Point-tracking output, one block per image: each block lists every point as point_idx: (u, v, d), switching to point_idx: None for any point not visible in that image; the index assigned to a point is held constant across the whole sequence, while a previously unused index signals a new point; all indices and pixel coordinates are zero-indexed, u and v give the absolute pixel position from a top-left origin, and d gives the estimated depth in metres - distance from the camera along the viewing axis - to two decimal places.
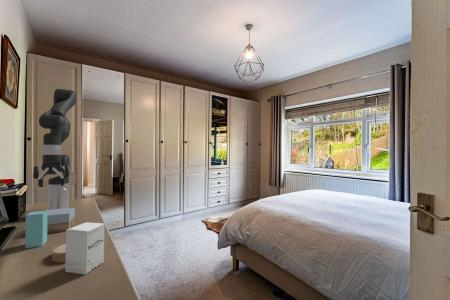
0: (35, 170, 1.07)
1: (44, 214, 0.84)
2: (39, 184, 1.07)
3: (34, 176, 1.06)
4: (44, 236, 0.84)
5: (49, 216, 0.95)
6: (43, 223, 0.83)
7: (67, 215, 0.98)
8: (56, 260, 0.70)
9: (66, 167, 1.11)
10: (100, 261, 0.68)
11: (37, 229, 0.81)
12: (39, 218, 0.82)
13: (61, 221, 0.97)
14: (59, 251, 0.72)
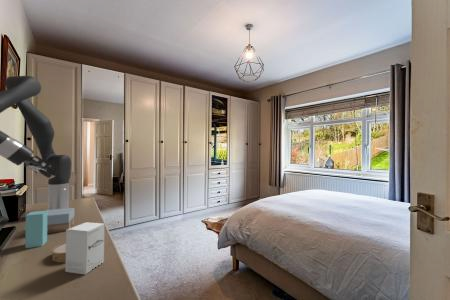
0: (28, 167, 0.94)
1: (44, 214, 0.84)
2: (46, 175, 0.97)
3: (35, 171, 0.95)
4: (44, 236, 0.84)
5: (48, 216, 0.95)
6: (43, 223, 0.83)
7: (67, 215, 0.97)
8: (56, 260, 0.70)
9: (33, 162, 0.85)
10: (100, 261, 0.68)
11: (37, 229, 0.81)
12: (39, 218, 0.82)
13: (61, 221, 0.97)
14: (59, 251, 0.72)
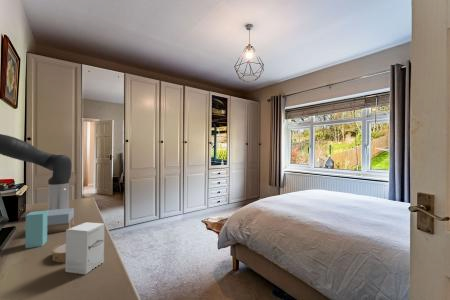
0: None
1: (44, 214, 0.84)
2: None
3: None
4: (44, 236, 0.84)
5: (48, 217, 0.95)
6: (43, 223, 0.83)
7: (66, 215, 0.97)
8: (56, 260, 0.71)
9: None
10: (100, 261, 0.68)
11: (37, 229, 0.81)
12: (39, 218, 0.82)
13: (60, 221, 0.96)
14: (59, 251, 0.72)
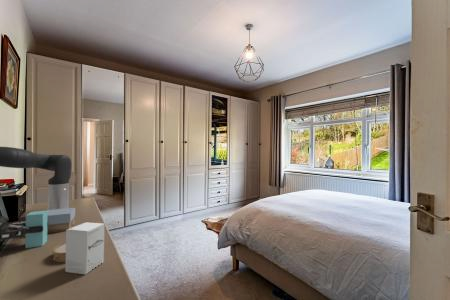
0: None
1: (44, 214, 0.84)
2: None
3: None
4: (44, 236, 0.84)
5: (50, 216, 0.95)
6: (43, 223, 0.83)
7: (68, 215, 0.98)
8: (57, 260, 0.71)
9: None
10: (100, 261, 0.68)
11: None
12: (39, 218, 0.82)
13: (62, 221, 0.97)
14: (60, 251, 0.73)
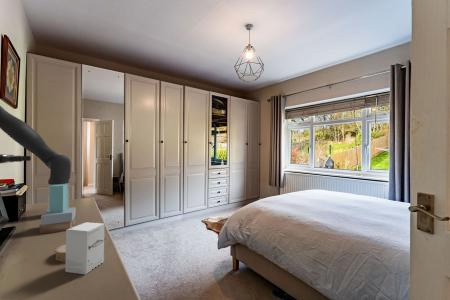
0: None
1: (64, 186, 1.02)
2: None
3: None
4: (64, 204, 1.02)
5: (52, 215, 0.96)
6: (63, 193, 1.01)
7: (70, 214, 0.99)
8: (60, 259, 0.71)
9: None
10: (100, 261, 0.68)
11: (59, 198, 1.00)
12: (60, 189, 1.00)
13: (64, 220, 0.98)
14: (63, 250, 0.73)
